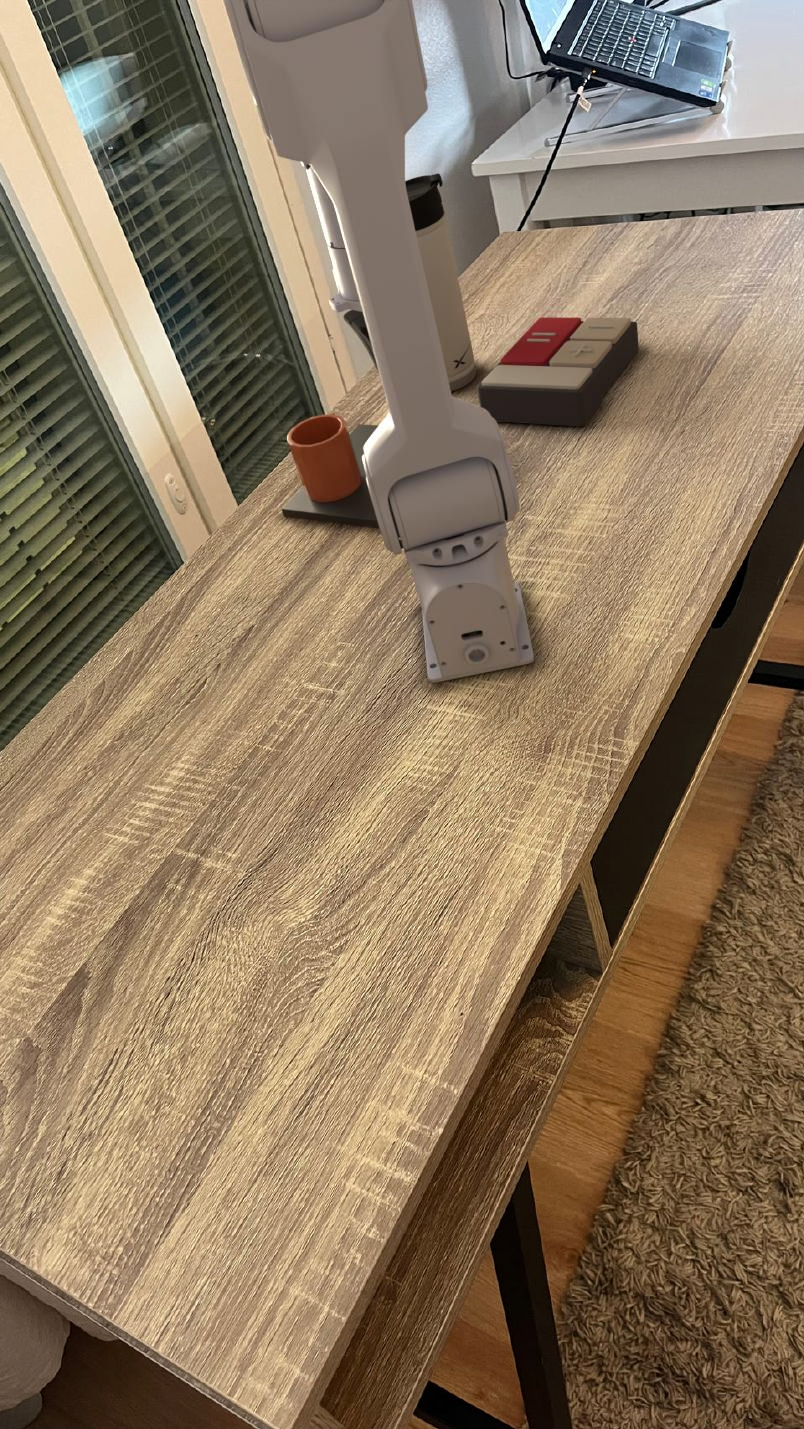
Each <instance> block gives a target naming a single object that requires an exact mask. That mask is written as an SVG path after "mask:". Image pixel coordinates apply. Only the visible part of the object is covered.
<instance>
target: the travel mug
mask: <svg viewBox="0 0 804 1429" xmlns="http://www.w3.org/2000/svg"><path fill="white" fill-rule="evenodd" d="M405 184H406V191H407V196H408V200H409V205H410V209H411V214H412V218H413V223H414V227H415V232H416V236H417V241H418V245H419V250H420V254H421V259H422V263H423V268H424V273H425V277H426V282H427V286H428V291H429V295H430V300H431V304H432V309H433V313H434V318H435V322H436V327H437V331H438V336H439V340H440V345H441V349H442V354H443V359H444V363H445V368H446V372H447V377H448V381H449V386H450V390H451V393H452V392H455V391H457V390H460V389H462V388H465V387H466V386H467V385H469V384H470V383H471V382H473V380H474V379H475V378H476V375H477V372H478V371H477V366H476V361H475V355H474V350H473V346H472V340H471V336H470V331H469V326H468V320H467V315H466V311H465V305H464V301H463V295H462V291H461V287H460V281H459V280H460V279H459V275H458V272H457V271H458V270H457V267H456V260H455V255H454V251H453V247H452V240H451V237H450V231H449V226H448V222H447V218H446V217H447V216H446V211H445V210H444V205H443V204H442V203H443V199H442V196H441V193H440V190H439V188H442V187H443V185H444V182H443V179H442V176H441V174H440V173H435V174H431V175H430V174H429V175H426V174H425V175H420V176H416V177H412V178H410V179H407V180H405ZM438 186H439V187H438Z"/></svg>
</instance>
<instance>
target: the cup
mask: <svg viewBox="0 0 804 1429" xmlns="http://www.w3.org/2000/svg"><path fill="white" fill-rule="evenodd" d="M349 434H350V432H349V428H348V425H347V422H346V420H345V419H344V418H343V416H340V415H338V414H337V415H336V414H329V413H328V414H320V415H316V416H312V417H311V416H310V417H308V418H307V419H304V420H303V421H301V422H299V423H297V424H296V425H295V426H293V427H292V428H291V429H290V431H289V432H288V434H287V439H286V440H287V443H288V446H289V450H290V452H291V455H292V458H293V460H294V463H295V467H296V470H297V472H298V475H299V478H300V481H301V484H302V486H303V487H304V490H305V491H306V494H307V496H308V497H309V498H310V499H311V500H313V501H316V502H332V501H336V500H339V499H342V498H345V497H347V496H348V495H350V494H352V493H353V492H354V491H356V490H357V489H358V487H359V486H360V484H361V482H362V476H361V473H360V468H359V465H358V461H357V458H356V455H355V452H354V448H353V445H352V442H351V438H350V435H349Z"/></svg>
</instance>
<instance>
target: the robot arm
mask: <svg viewBox="0 0 804 1429" xmlns="http://www.w3.org/2000/svg"><path fill="white" fill-rule="evenodd" d="M224 6H225V9H226V12H227V16H228V20H229V24H230V26H231V30H232V34H233V37H234V40H235V44H236V48H237V51H238V54H239V57H240V62H241V64H242V67H243V71H244V74H245V78H246V80H247V84H248V88H249V90H250V94H251V97H252V100H253V103H254V105H255V106H256V107H257V111H258V114H259V117H260V120H261V124H262V127H263V131H264V134H265V137H266V139H267V140H269V141H271V142H272V144H273V148H274V152H275V155H276V156H277V157H279V158H283V159H286V160H289V161H294V162H299V163H300V165H301V166H302V167H304V168H305V171H306V174H307V178H308V182H309V186H310V189H311V192H312V196H313V198H314V203H315V206H316V210H317V214H318V216H319V220H320V224H321V228H322V231H323V235H324V239H325V242H326V245H327V249H328V253H329V256H330V259H331V263H332V268H331V270H332V274H333V278H334V281H335V285H336V288H337V290H338V292H337V293H338V294H337V295H335V296H332V297H331V298H329V300H328V302H329V305H330V309H332V310H333V311H334V312H336V313H342V312H345V311H347V310H348V311H347V312H345V313H344V314H343V320H344V321H345V323H346V324H347V325H348V326H349V327H350V328H351V330H353V332H354V333H355V334H356V336H357V337H358V338H359V340H360V341H361V343H362V344H363V346H364V348H365V349H366V351H367V353H368V354H369V357H370V358H371V361H372V362H373V364H374V367H375V369H376V371H377V372H378V374H379V378H380V382H381V386H382V390H383V393H384V396H385V400H386V405H387V408H388V412H387V414H386V416H385V417H384V418H383V420H382V421H381V422H380V423H379V425H378V427H377V429H376V430H375V431H374V432H373V434H372V435H371V436H370V438H369V439H368V440H367V442H366V443H365V445H364V447H363V450H364V454H363V456H362V461H363V465H364V469H365V472H366V476H367V477H366V481H367V485H368V489H369V492H370V496H371V500H372V503H373V507H374V510H375V514H376V517H377V521H378V524H379V527H380V528H379V530H380V534H381V537H382V540H383V544H384V547H385V550H387V551H389V552H390V553H393V555H394V556H398V555H401V554H403V552H404V555H405V556H404V557H405V558H406V562H407V565H408V566H409V569H410V572H411V576H412V579H413V582H414V586H415V590H416V593H417V597H418V600H419V603H420V607H421V614H422V627H423V637H424V650H425V660H426V672H427V673H426V675H427V679H428V681H429V682H430V683H431V684H434V683H435V684H436V683H440V682H441V683H442V682H445V681H451V680H456V679H460V678H465V677H470V676H475V675H480V674H485V673H488V672H496V671H500V670H504V669H509V668H514V667H519V666H524V665H529V664H531V663H533V662H534V661H535V655H534V650H533V645H532V639H531V634H530V630H529V624H528V620H527V615H526V610H525V604H524V598H523V594H522V590H521V589H522V588H521V585H520V584H519V583H518V582H517V583H516V582H514V578H513V573H512V568H511V563H510V558H509V554H508V548H507V543H506V538H508V537H509V534H508V528H507V524H506V523H509V522H514V521H516V517H517V515H518V513H519V511H520V508H521V507H520V498H519V493H518V488H517V483H516V478H515V474H514V471H513V467H512V464H511V461H510V456H509V454H508V451H507V449H506V444H505V439H504V436H503V433H502V431H501V429H500V427H499V423H498V421H496V420H495V419H494V418H493V417H491V415H490V413H489V412H488V411H487V410H486V409H484V408H482V407H480V405H476V404H474V403H471V402H468V401H466V400H463V399H461V398H459V397H456V396H453V395H452V392H451V390H450V386H449V381H448V377H447V372H446V368H445V363H444V359H443V354H442V349H441V345H440V340H439V336H438V331H437V327H436V322H435V318H434V313H433V309H432V304H431V300H430V295H429V291H428V286H427V282H426V277H425V273H424V268H423V263H422V259H421V254H420V250H419V245H418V241H417V236H416V232H415V227H414V223H413V218H412V214H411V209H410V205H409V200H408V196H407V191H406V184H405V181H406V135H407V133H408V132H409V131H410V130H411V129H412V128H413V126H414V125H415V124H417V123H418V121H419V120H420V119H421V118H422V117H423V116H424V114H425V113H427V111H428V109H429V104H428V99H427V94H426V92H427V89H428V78H427V74H426V69H425V61H424V58H423V53H422V48H421V43H420V37H419V33H418V26H417V20H416V15H415V14H416V13H415V9H414V4H413V0H224Z"/></svg>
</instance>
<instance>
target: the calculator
mask: <svg viewBox="0 0 804 1429" xmlns="http://www.w3.org/2000/svg"><path fill="white" fill-rule="evenodd" d="M639 347H640V344H639V330H638V323H637V322H636V321H632V320H631V318H630V317H587V318H585V319H584V320H582V318H581V317H545V316H543V317H539V318H538V319H536V320H535V321H534V323H533V324H532V325H531V326H530V327H529V328H528V329H527V331H525V332H524V334H523V335H522V336H520V338H519V339H517V341H516V342H515V344H513V345H512V346H511V348H510V349H509V350H508V351H507V352H506V353H505V354H504V355H503V356H502V357H501V358H500V361H499V362H498V363H497V364H496V366H494V367H493V369H492V370H491V371H490V372H489V373H488V374H487V375H486V376H485V377H484V378H483V379H482V381H480V383H479V384H478V385H477V386H476V390H477V396H478V402H479V407H482V408H484V409H486V410H487V411H488V412H489V413H490V415H491V417H493V418H494V419H495V420H496V422H498V423H499V422H501V423H502V422H503V423H517V424H532V425H533V424H534V425H535V424H536V425H549V426H550V425H552V426H567V427H585V426H587V424H588V423H589V421H590V420H591V419H592V418H593V417H594V415H595V414H596V413H597V411H598V410H599V409H600V407H601V403H602V400H603V397H604V396H605V394H606V393H607V392H608V391H609V389H610V388H611V387H612V386H613V384H614V383H615V382H616V380H617V379H618V378H619V377H620V375H621V374H622V373H623V371H624V370H625V368H626V367H627V366H628V364H630V362H631V361H632V360H633V358H634V357H635V355H637V353H638V352H639V350H640V348H639Z"/></svg>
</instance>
